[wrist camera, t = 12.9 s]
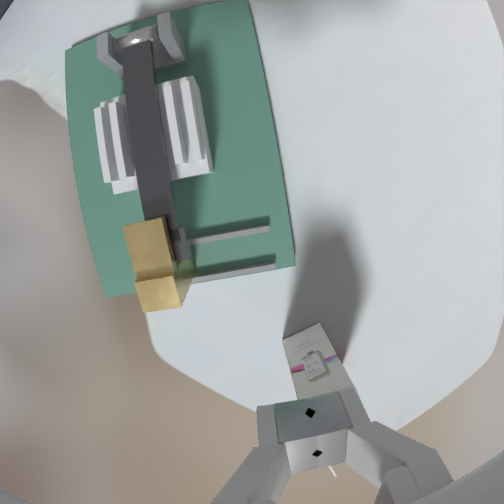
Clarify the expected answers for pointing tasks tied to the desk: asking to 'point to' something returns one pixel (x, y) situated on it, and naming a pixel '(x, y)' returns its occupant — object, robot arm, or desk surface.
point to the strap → (149, 134)
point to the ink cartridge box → (315, 365)
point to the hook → (157, 265)
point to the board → (183, 145)
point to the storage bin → (4, 6)
